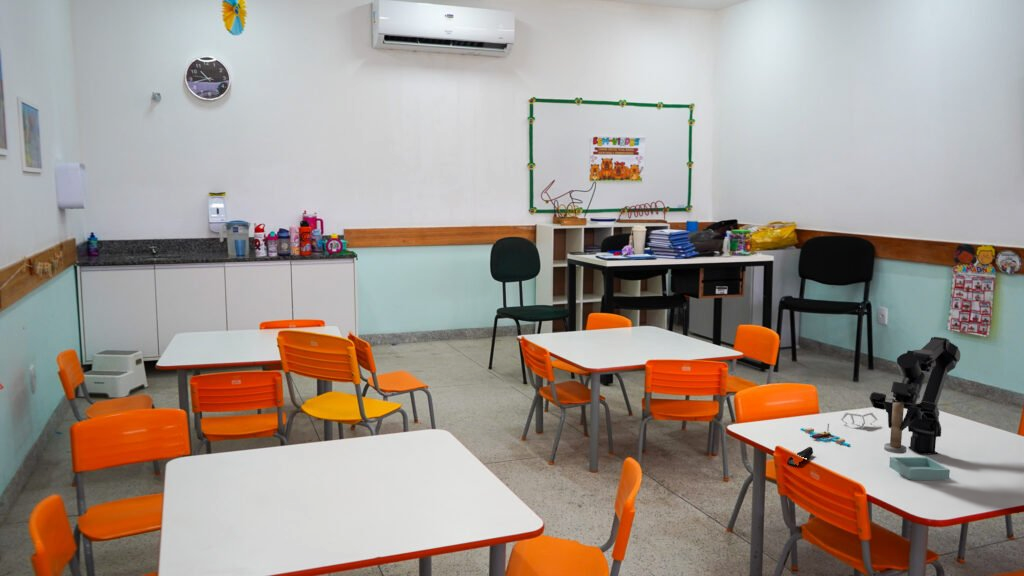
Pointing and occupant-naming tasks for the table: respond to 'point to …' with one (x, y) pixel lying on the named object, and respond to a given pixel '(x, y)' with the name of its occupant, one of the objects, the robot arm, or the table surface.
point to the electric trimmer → (805, 453)
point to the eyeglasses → (859, 413)
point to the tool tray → (919, 468)
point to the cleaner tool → (896, 430)
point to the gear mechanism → (825, 436)
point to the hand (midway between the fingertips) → (895, 428)
